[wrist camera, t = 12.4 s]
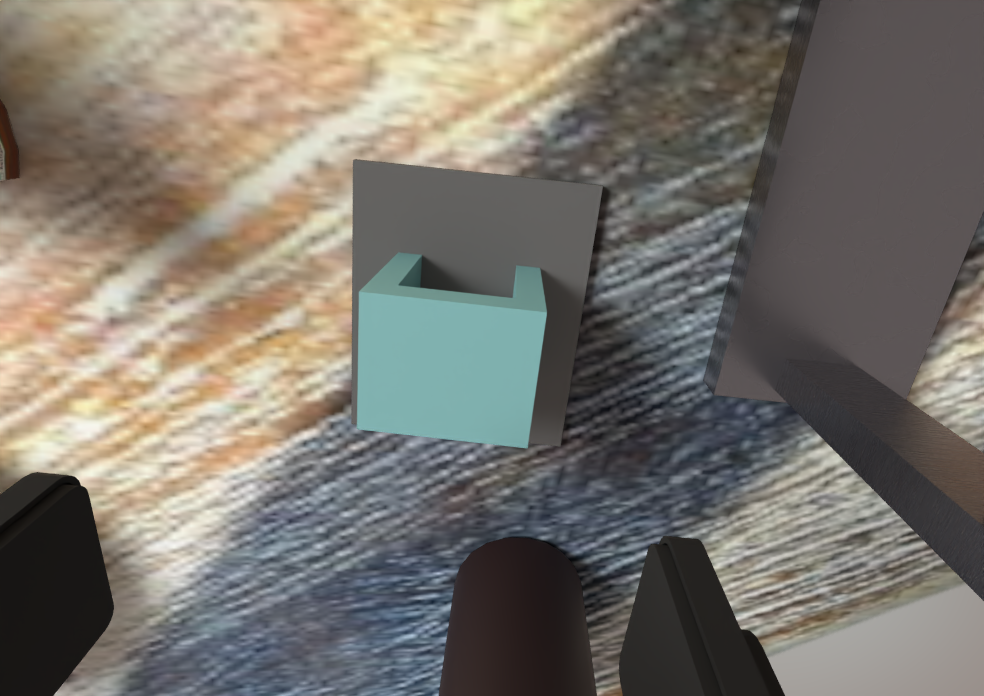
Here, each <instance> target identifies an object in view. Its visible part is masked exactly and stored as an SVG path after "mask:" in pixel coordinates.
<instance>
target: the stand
mask: <svg viewBox="0 0 984 696" xmlns="http://www.w3.org/2000/svg"><path fill="white" fill-rule="evenodd" d="M983 211H984V0H802V2H801V5H800V9H799V13H798V17H797V21H796V25H795V29H794V32H793V36H792V40H791V44H790V48H789V52H788V56H787V59H786V63H785V67H784V71H783V75H782V79H781V83H780V86H779V90H778V94H777V98H776V102H775V106H774V109H773V113H772V117H771V121H770V125H769V129H768V133H767V136H766V140H765V144H764V148H763V152H762V156H761V160H760V163H759V167H758V171H757V175H756V179H755V183H754V187H753V190H752V194H751V198H750V202H749V206H748V210H747V214H746V217H745V221H744V225H743V229H742V233H741V237H740V241H739V244H738V248H737V252H736V256H735V260H734V264H733V268H732V271H731V275H730V279H729V283H728V287H727V291H726V294H725V298H724V302H723V306H722V310H721V314H720V318H719V321H718V325H717V329H716V333H715V337H714V341H713V345H712V348H711V352H710V356H709V360H708V364H707V368H706V372H705V375H704V379H703V381H704V382H705V384H706V385H707V386H708V388H709V389H710V390H711V392H712V393H713V394H714V395H720V396H729V397H738V398H748V399H757V400H766V401H775V402H785V403H788V404H789V405H790V406H791V407H792V408H793V409H794V410H795V411H796V412H797V413H798V414H799V415H800V416H801V417H802V418H803V419H804V420H805V421H806V422H807V423H808V424H809V425H810V426H811V427H812V428H813V429H814V430H815V431H816V432H817V433H818V434H819V435H820V436H821V437H822V438H823V439H824V440H825V441H826V442H827V443H828V444H829V445H830V446H831V447H832V448H833V449H834V450H835V451H836V452H837V453H838V454H839V455H840V457H841V458H842V459H843V460H844V461H845V462H846V463H847V464H848V465H849V466H850V467H851V468H852V469H853V470H854V471H855V472H856V473H857V474H858V475H859V476H860V477H861V478H862V479H863V480H864V481H865V482H866V483H867V484H868V485H869V486H870V487H871V488H872V489H873V490H874V491H875V492H876V493H877V494H878V495H879V496H880V497H881V498H882V499H883V500H884V501H885V502H886V503H887V504H888V505H889V506H890V507H891V508H892V509H893V510H894V511H895V512H896V513H897V514H898V515H899V516H900V517H901V518H902V519H903V520H904V521H905V522H906V523H907V524H908V525H909V526H910V527H911V528H912V529H913V530H914V531H915V532H916V533H917V534H918V535H919V536H920V537H921V538H922V539H923V540H924V541H925V542H926V543H927V544H928V545H929V546H930V547H931V548H932V549H933V550H934V551H935V552H936V553H937V554H938V555H939V556H940V557H941V558H942V559H943V560H944V561H945V562H946V563H947V564H948V565H949V566H950V567H951V568H952V569H953V570H954V571H955V572H956V573H957V574H958V575H959V576H960V577H961V578H962V580H963V581H964V582H965V583H966V584H967V585H968V586H969V587H971V589H973V590H974V592H975V593H976V594H977V595H978V596H979V597H980V598H981V599H982V600H983V601H984V453H982V452H981V451H980V450H978V449H977V448H975V447H974V446H972V445H971V444H969V443H968V442H966V441H965V440H964V439H962V438H961V437H959V436H958V435H956V434H955V433H953V432H952V431H951V430H949V429H948V428H946V427H945V426H943V425H942V424H940V423H939V422H938V421H936V420H935V419H933V418H932V417H930V416H929V415H927V414H926V413H925V412H923V411H922V410H920V409H919V408H917V407H916V406H914V405H913V404H911V403H910V402H909V401H907V400H906V399H907V396H908V394H909V391H910V389H911V386H912V384H913V382H914V379H915V377H916V374H917V372H918V369H919V367H920V365H921V362H922V360H923V357H924V355H925V352H926V350H927V348H928V345H929V343H930V340H931V338H932V335H933V333H934V331H935V328H936V326H937V323H938V321H939V318H940V316H941V314H942V311H943V309H944V306H945V304H946V301H947V299H948V297H949V294H950V292H951V289H952V287H953V284H954V282H955V280H956V277H957V275H958V272H959V270H960V267H961V265H962V262H963V260H964V258H965V255H966V253H967V250H968V248H969V245H970V243H971V241H972V238H973V236H974V233H975V231H976V228H977V226H978V224H979V221H980V219H981V216H982V214H983Z"/></svg>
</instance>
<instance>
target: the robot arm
mask: <svg viewBox="0 0 984 696" xmlns="http://www.w3.org/2000/svg"><path fill="white" fill-rule="evenodd" d="M113 610H114V604H113V599H112V595H111V590H110V586H109V582H108V577H107V573H106V568H105V564H104V560H103V555H102V551H101V547H100V542H99V538H98V533H97V529H96V525H95V520H94V516H93V511H92V507H91V503H90V498H89V494H88V491H87V489H86V488H85V487H83V486H81V485H80V482H79V480H78V479H77V478H76V477H73V476H69V475H59V474H49V473H39V472H36V473H31V474H29V475H27V476H25V477H24V478H22V479H21V480H20V481H18V482H17V483H16V484H14V485H13V486H11V487H10V488H9V489H7V490H6V491H5V492H3V493H2V494H1V495H0V696H53V695H54V694H55V693H56V692H57V690H58V689H59V688H60V687H61V685H62V684H63V683H64V682H65V680H66V679H67V678H68V676H69V675H70V674H71V673H72V671H73V670H74V669H75V668H76V666H77V665H78V664H79V663H80V661H81V660H82V659H83V658H84V656H85V655H86V654H87V653H88V651H89V650H90V649H91V647H92V646H93V645H94V644H95V642H96V641H97V640H98V639H99V637H100V636H101V635H102V634H103V632H104V631H105V630H106V628H107V627H108V625H109V623H110V621H111V618H112V615H113ZM619 674H620V683H621V688H622V693H623V696H785V695H784V693H783V690H782V688H781V686H780V684H779V682H778V680H777V677H776V675H775V673H774V671H773V669H772V667H771V665H770V662H769V660H768V658H767V656H766V654H765V652H764V650H763V648H762V646H761V644H760V642H759V641H758V639H757V637H756V636H755V635H754V634H753V633H752V632H751V631H748V630H741V629H740V627H739V625H738V622H737V620H736V618H735V616H734V613H733V611H732V609H731V606H730V604H729V602H728V600H727V597H726V595H725V593H724V591H723V588H722V586H721V584H720V582H719V579H718V577H717V575H716V572H715V570H714V568H713V566H712V563H711V561H710V559H709V557H708V554H707V552H706V550H705V548H704V546H703V544H702V542H701V541H700V540H698V539H691V538H681V537H671V536H663V538H662V539H661V541H660V543H659V544H651V545H650V546H649V549H648V552H647V556H646V560H645V564H644V567H643V571H642V575H641V579H640V583H639V586H638V590H637V594H636V598H635V602H634V605H633V609H632V613H631V617H630V621H629V624H628V628H627V632H626V636H625V640H624V643H623V647H622V651H621V655H620V662H619Z"/></svg>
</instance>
